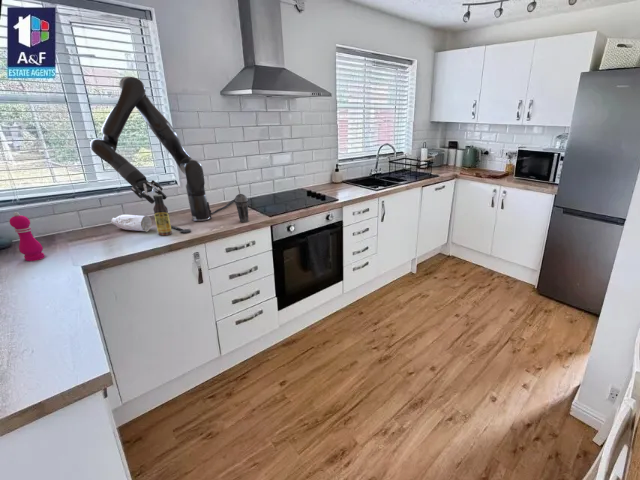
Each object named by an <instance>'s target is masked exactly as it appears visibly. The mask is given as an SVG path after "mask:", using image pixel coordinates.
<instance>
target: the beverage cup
mask: <svg viewBox="0 0 640 480" xmlns="http://www.w3.org/2000/svg"><path fill="white" fill-rule="evenodd" d="M237 189H238V194H237V195H235V198H234V199H235V201H234V204H235V206H236V210H237V211H236V212H237V215H238V218H239V222H240V223H247V222H249V200H248V197H247V196H246V195H245V194H243V193H241V191H240V190H241V189H240V186H237Z"/></svg>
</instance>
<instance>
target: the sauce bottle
mask: <svg viewBox="0 0 640 480" xmlns="http://www.w3.org/2000/svg"><path fill="white" fill-rule="evenodd" d="M152 198H153V199H154V200H155V202H154V206H153V215H154V220H155V225H156V230H157V233H158V235H159V236H170V235H171V234H172V233H173V230H172V228H171V226H172V225H171V220H170V219H171V218H170V215H169V210H168V207H167V206H166V205H165V203H164V200H163V195H160V194H157V193H156V194H153V195H152Z"/></svg>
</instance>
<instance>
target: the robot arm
mask: <svg viewBox="0 0 640 480" xmlns="http://www.w3.org/2000/svg"><path fill="white" fill-rule="evenodd" d="M119 88H120V91H121V92H120V95H119V98H118V100H117V101H116V104H115V105H114V107H113V108H112V109H111V110H110V112H109V114H108V115H107V117H106V118H105V121H104V122H103V124H102V126H101V129H100V131H101V134H102V137H101V138H102V139H101V138H93V139H92V140H91V141H90V143H89V146H90V150H91V151H92V152H93V153H94V154H95V155H96V156H97V157H99V158H100V159H101V160H103V161H104V162H106V163H107V164H108V165H109V166H111V168H112V169H114V171H116V172H117V173H118V174H119V176H120V177H121V178H122V179H124V180H125V181H126V182H127V183H128V184H129V185H130V186H131V188H130V190H131V191H132V192H133V193H134V194H135V195H136V196H137V197H138V198H139V199H145V200H146V201H147V202H148V203H150V204H151V205H152V204H155V200H154V198H153V197H152V196H151V195H149V194H148V193H153V194H156V195H157V194H160V195H163V201H164V200H166V199H167V198H168V196H167V195H166V194H165V193H164V192H163V190H164V188H163V187H162V186H161V185H159V183H157V182H156V181H155V180H153V179H152V180H151V181H148V179H147V177H146V176H145V174H143V173H142V172H141V171H140V170H139V168H137V167H136V166H135V165H133V163H131V162H130V161H129V160H128V159H126V158H125V156H123V155H122V154H119V153H118V152H117V148H118V143H119V139H120V136H121V135H122V133H123V130H124V128H125V126H126V124H127V122H128V121H129V118H130V116H131V114H132V112H133V111H134V109H137V110H138V112H139V113H140V115H141V117H142V118H143V120H144V122H145V123H146V124H147V126H148V127H149V129H150V130H151V132H152V134H153V135H154V136H155V137H156V138H157V140H158V141H159V142H160V144H162V146H163V148H164V149H166V150H167V152H168V153H169V154H170V155H171V157H172V158H173V160H174V161H175V163H176V165H177V167H178V168H179V170H180V171H181V173H183V174H184V175H185V179H186V184H185V190H186V195H187V200H188V204H189V209H190V213H191V220H192V222H206V221H209V220H211V219H212V215H213V214H216V213H218V212H219V211H221V210H224V209H225V208H227V207H229V206H230V205H231V204H232V203H233V202H235V198H234V199H232V200H230V201H229V203H227V204H226V205H224V206H223V207H220V208H218V209H215V210H214V211H213V212H212V210H211V207H210V202H209V201H208V199H207V193H206V188H205V184H206V182H205V175H204V169H203V166H202V164H201V162H199V161H197V160H195V159H193V158H192V157H191V156H190V155H189V154H188V153H187V151H186V150H185V148H184V147H183V145H182V142H181V139H180V137H179V135H178V132H176V130H175V128H174V127H173V126H172V124H171V123H170V122H169V120H168V119H167V118H166V117H165V116H164V114H163V113H161V112H160V110H159V109H158V108H157V107H156V106H155V105H154V104H153V102H152V101H151V99H150V98H149V97H148V95H147V93H146V86H145V84H144V83H143V81H142V80H141V79H139V78H138V77H134V76H129V75H128V76H123V77H122V78H121V79H120V81H119Z"/></svg>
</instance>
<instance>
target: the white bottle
mask: <svg viewBox="0 0 640 480" xmlns="http://www.w3.org/2000/svg"><path fill="white" fill-rule="evenodd" d="M110 222H111V224H112V225H114V226H115V227H116V228H120V229H122V230H123V231H124V230H126V231H135V232H136V231H137V232H149V231H150V230H151V229H152V227H153V224H152V223H153V221H152V218H151V217H150V216H148V215H136V214H120V215H117V216H116V217H113V216H112V218H111V219H110Z"/></svg>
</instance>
